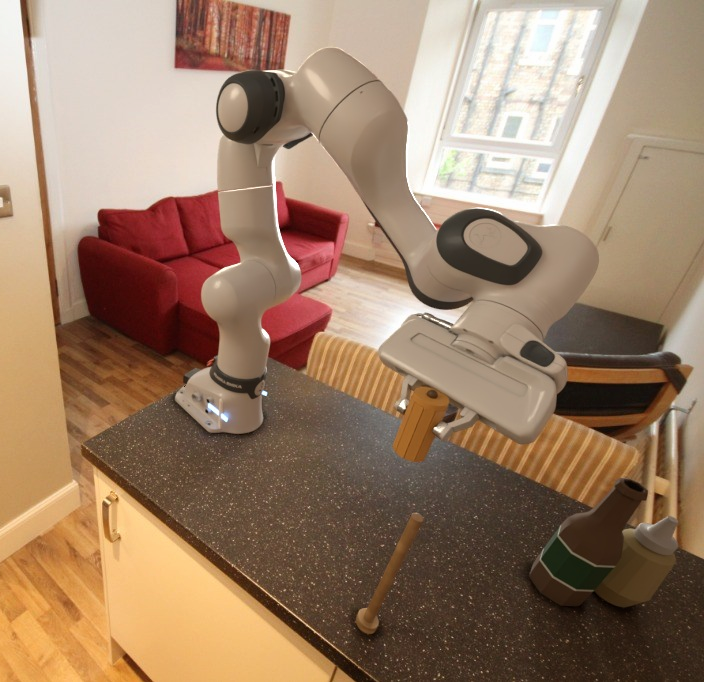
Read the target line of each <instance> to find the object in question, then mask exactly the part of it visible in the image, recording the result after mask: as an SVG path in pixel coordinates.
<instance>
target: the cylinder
mask: <svg viewBox="0 0 704 682" xmlns="http://www.w3.org/2000/svg"><path fill="white" fill-rule="evenodd" d="M449 402H450V401H449V398H448V397H447V396H446V395H444V394H443V393H441V392H439V391H438V390H436V389H433V388H430V387H421V386H420V387H417V388H416V389H415V390H414V391H412V394H411V395H410V401H409V404H408V406H407V409H406V411H405V414H404V415H403V417H402V419H401V422H400V425H399V428H398V430H397V432H396V435H395V438H394V440H393V443H392V449H393V452H395V454H396V455H398V456H399V457H400V458H401V459H404V460H406V461H409V462H411V463H420V462H424V461H425V459H426V458H427V456H428V453H429V451H430V449H431V447H432V444H433V442H434V440H435V437H436V436H435V435H433V433H432V430H433V429H434V427H436V426H437V424H438V423H439V422H440V420H441V421H443V420H444V417H445V415H446V412H447V410H448V408H449V405H450V403H449Z"/></svg>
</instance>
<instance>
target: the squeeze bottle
mask: <svg viewBox="0 0 704 682" xmlns="http://www.w3.org/2000/svg"><path fill="white" fill-rule="evenodd" d="M678 524H679V520H678V519H677V518H675V517H674V516H672V515H668V516H666V517H664V518H662V519H661V520H659V521H657V522H656V523H654V524H652V523H650V522H641V523H639V524H638V525H637V527H635V528H625V529H624V528H623V531H622V533H623V536H624V541H623V550H622V556H621V559H620V560H619V562H618V563H617V565H616V566H615V567H614V568H613V570H612V571H611V572H610V573H609V574H608V575H607V576H606V577H605V579H604V580H603V581H602V582H601V583H600V584H599V585H598V587H597V588H596V589H595V590H594V591H593V592H594V593H595V595H597V596H598V597H599V598H601V599H602V600H604V601H605V602H606V603H608V604H611V605H613V606H615V607H619V608H628V607H632V606H635V605H638V604H643V603H646V602H649V601H650V600H651V599H652V598H653V596H654V595H655V593H656V592H657V590H658V589H659V587H660V586H661V585H662V583H663V582H664V581H665V578H666V577H667V576H668V575H669V573H670V571H672V569H673V567H674V566H675V564H676V563H677V558H676V555H675V553H674V552H676V550H678V548H679V543H678V540H677V539H676V538H675V537H674V534H675V531H676V529H677V526H678Z"/></svg>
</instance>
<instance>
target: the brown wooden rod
mask: <svg viewBox="0 0 704 682" xmlns="http://www.w3.org/2000/svg"><path fill="white" fill-rule="evenodd" d="M424 519H425V518H424V516H423V515H421V514H420V513H418V512H413V513H411V515H410V517H409V519H408V521H407V523H406V526H405V527H404V530H403V532H402V534H401V536H400V538H399V540H398V542H397V545H396V547H395V549H394V551H393V553H392V555H391V557H390V559H389V561H388V564H387V565H386V568H385V571H384V572H383V574H382V576H381V578H380V580H379V583H378V584H377V587H376V588H375V591H374V593H373V595H372V597H371V600H370V601H369V603H368V605H367V608H365V607H364V608H361V609H359V610H358V612H357V614H356V616H355V624H356V626H357V628H358V629H359V630H360V631H361V632H362V633H364V634H366V635H372V634H375V632H376V631H377V629H378V627H379V624H380V621H379V617H378V612H379V611H380V609H381V606H382V605H383V603H384V601H385V598H386V596H387V595H388V593H389V592H390V588H391V587H392V585H393V583H394V580H395V579H396V576H397V574H398V573H399V571H400V569H401V567H402V565H403V563H404V561H405V558H406V556H407V555H408V552H409V551H410V548H411V547H412V544H413V542H414V541H415V539H416V537H417V535H418V532H419V531H420V529H421V527H422V525H423V523H424V521H425V520H424Z"/></svg>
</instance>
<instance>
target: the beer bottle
mask: <svg viewBox="0 0 704 682" xmlns="http://www.w3.org/2000/svg"><path fill="white" fill-rule="evenodd" d="M648 495H649V490H648V489H647V488H646V486H644V485H643V484H641V483H640V482H638V481H636V480H634V479H631V478H628V477H619V478H617V479H615V480H614V485H613V487H612V488H611V489H610V490H609V491H608V493H606V494H605V496H604V497H602V499H601V500H600V501H599V502H598V503H597V505H596V506H594V507H593V508H592V509H590V510H589V511H585V512H578V513H574V514H572V515H570V516H568V517H566V518H565V519H564V521H563V522H562V523H561V524H560V525H559V526H558V528H557V530H556V531H555V532H554V533H553V535H552V537H550V539H549V540H548V542H547V543H546V544H545V546H544V547H543V548H542V550H541V551H540V553H539V554H538V556H537V557H536V558H535V560H534V562H533V563H532V565H531V569H530V571H529V575H528V577H529V579H530V581H531V582H532V583H533V585H534V586H535V588H536V590H537V591H538V592H539V593H540V594H541V595H542V596H544V597H545V598H547V599H549V600H550V601H552V602H554V603H555V604H557V605H558V606H561V607H580V606H581V605H582V604H583V603H584V602H585V601H586V600H587V599H588V598H589V597H590V596H591V595H592V593H593V592H594V590H595V589H596V588H597V587H598V585H599V584H600V583H601V582H602V581H603V580H604V579H605V577H606V576H607V575H608V574H609V573H610V572H611V571H612V570H613V568H614V567H615V566H616V565H617V563H618V562H619V560H620V559H621V556H622V550H623V541H624V536H623V533H622V531H623V530H624V528H625V526H626V525H627V523H629V521H630V519H631V518H632V516H633V515H634V513H635V512H636V511H637V509H638V507H639V506H640V505H641V503H642V501H643V502H644V501H645V502H646V501H647V499H648Z"/></svg>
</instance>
